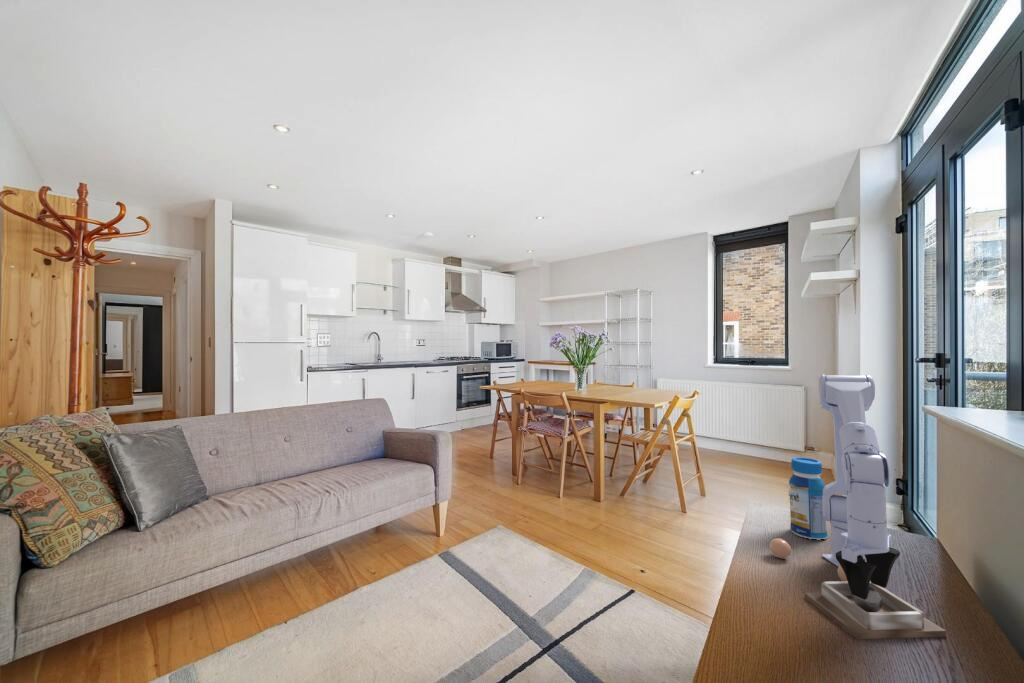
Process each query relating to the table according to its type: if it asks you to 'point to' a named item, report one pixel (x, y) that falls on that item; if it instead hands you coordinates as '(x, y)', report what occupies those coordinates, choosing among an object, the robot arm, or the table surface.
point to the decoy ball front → (780, 548)
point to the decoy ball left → (841, 574)
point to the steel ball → (869, 601)
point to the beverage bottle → (807, 499)
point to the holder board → (872, 614)
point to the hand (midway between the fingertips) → (869, 590)
